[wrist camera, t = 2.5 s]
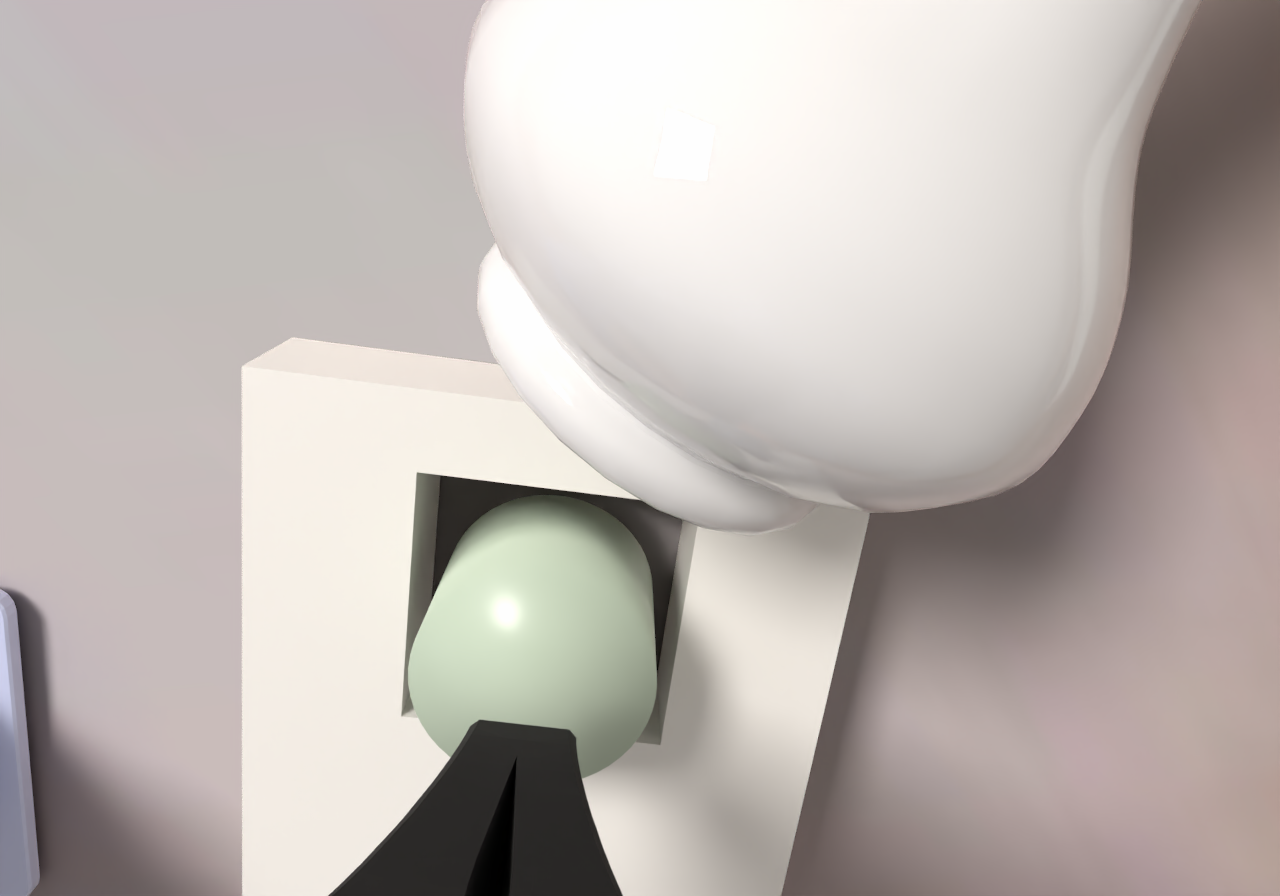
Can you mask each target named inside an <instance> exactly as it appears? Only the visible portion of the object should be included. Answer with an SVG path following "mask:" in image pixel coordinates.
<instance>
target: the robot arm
mask: <svg viewBox="0 0 1280 896" xmlns="http://www.w3.org/2000/svg"><path fill="white" fill-rule="evenodd" d="M39 880H40V871H39V860H38V848H37V837H36V825H35V814H34V803H33V791H32V780H31V768H30V757H29V745H28V734H27V723H26V711H25V700H24V688H23V677H22V665H21V654H20V643H19V631H18V620H17V610H16V606H15V603H14V601H13V600H12V598H11V597H10V596H9V595H8V594H7V593H6V592H4V591H3V590H1V589H0V896H29V895H30V893H31V892H32V891H33V890H34V888H35V887H36V886H37V885H38V884H39ZM328 896H623V895H622V892H621V890H620V888H619V885H618V883H617V881H616V878H615V876H614V874H613V871H612V869H611V867H610V864H609V862H608V859H607V856H606V854H605V851H604V849H603V846H602V843H601V840H600V837H599V834H598V831H597V828H596V825H595V823H594V820H593V817H592V814H591V810H590V807H589V804H588V800H587V797H586V793H585V789H584V785H583V781H582V777H581V772H580V767H579V762H578V755H577V745H576V737H575V736H574V734H573V733H572V732H571V731H570V730H569V729H560V728H551V727H542V726H533V725H524V724H515V723H506V722H498V721H489V720H480V719H479V720H478V721H477V722H475V723H474V724H472V725H471V726H470V727H469V729H468V731H467V733H466V735H465V736H464V738H463V740H462V741H461V743H460V744H459V746H458V747H457V749H456V750H455V752H454V753H453V755H452V756H451V758H450V759H449V761H448V762H447V763H446V765H445V766H444V767H443V769H442V770H441V771H440V773H439V774H438V775H437V777H436V778H435V780H434V781H433V782H432V783H431V785H430V786H429V787H428V788H427V790H426V791H425V792H424V793H423V794H422V796H421V797H420V798H419V799H418V801H417V802H416V803H415V804H414V806H413V807H412V808H411V809H410V810H409V812H408V813H407V814H406V815H405V817H404V818H403V819H402V820H401V821H400V822H399V823H398V825H397V826H396V827H395V828H394V829H393V830H392V831H391V832H390V833H389V834H388V835H387V836H386V838H385V839H384V840H383V841H382V842H381V843H380V844H379V845H378V846H377V847H376V848H375V849H374V850H373V852H372V853H371V854H370V855H369V856H368V857H367V858H366V859H365V860H364V861H363V862H362V863H361V864H360V865H359V866H358V867H357V868H356V869H355V870H354V871H353V872H352V873H351V874H350V875H349V876H348V877H347V878H346V879H345V880H344V881H343V882H342V883H341V884H340V885H339V886H338V887H337V888H336V889H335V890H334V891H333V892H331V893H330V894H329V895H328Z"/></svg>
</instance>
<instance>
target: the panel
mask: <svg viewBox="0 0 1280 896" xmlns="http://www.w3.org/2000/svg"><path fill="white" fill-rule="evenodd" d="M441 475H443V476H451V477H460V478H468V479H476V480H484V481H492V482H500V483H508V484H516V485H524V486H532V487H540V488H548V489H556V490H564V491H573V492H581V493H589V494H597V495H605V496H613V497H621V498H629V499H637V500H640V499H638V498H637V497H635V496H633V495H632V494H630V493H629V492H627V491H625V490H624V489H622V488H620V487H619V486H617V485H615V484H614V483H612V482H611V481H609V480H607V479H606V478H604V477H603V476H602V475H601V474H600V473H598V472H597V471H596V470H595V469H594V468H592V467H591V466H590V465H589V464H587V463H586V462H585V461H584V460H583V459H581V458H580V457H579V456H578V455H577V454H575V453H574V452H573V451H572V450H571V449H569V448H568V447H567V446H566V445H564V444H563V443H562V442H561V441H560V440H558V438H557V437H556V436H555V435H554V434H553V433H552V432H551V431H550V430H549V429H548V427H547V426H546V425H545V424H544V423H543V422H542V421H541V420H540V419H539V417H538V416H537V415H536V414H535V413H534V412H533V411H532V410H531V409H530V408H529V406H528V405H527V404H526V403H525V402H524V401H523V400H522V399H521V398H520V396H519V395H518V393H517V392H516V390H515V389H514V387H513V386H512V384H511V382H510V381H509V379H508V378H507V376H506V375H505V373H504V371H503V370H502V368H501V367H500V365H499V364H492V363H485V362H477V361H469V360H462V359H454V358H446V357H439V356H431V355H423V354H416V353H408V352H401V351H393V350H385V349H378V348H370V347H362V346H355V345H347V344H339V343H332V342H324V341H316V340H309V339H301V338H293V337H292V338H291V339H289V340H287V341H285V342H284V343H282V344H280V345H278V346H276V347H275V348H273V349H271V350H269V351H268V352H266V353H264V354H262V355H261V356H259V357H257V358H255V359H254V360H252V361H250V362H248V363H246V364H245V365H243V366H242V896H328V895H329V894H330V893H331V892H333V891H334V890H335V889H336V888H337V887H338V886H339V885H340V884H341V883H342V882H343V881H344V880H345V879H346V878H347V877H348V876H349V875H350V874H351V873H352V872H353V871H354V870H355V869H356V868H357V867H358V866H359V865H360V864H361V863H362V862H363V861H364V860H365V859H366V858H367V857H368V856H369V855H370V854H371V853H372V852H373V850H374V849H375V848H376V847H377V846H378V845H379V844H380V843H381V842H382V841H383V840H384V839H385V838H386V836H387V835H388V834H389V833H390V832H391V831H392V830H393V829H394V828H395V827H396V826H397V825H398V823H399V822H400V821H401V820H402V819H403V818H404V817H405V815H406V814H407V813H408V812H409V810H410V809H411V808H412V807H413V806H414V804H415V803H416V802H417V801H418V799H419V798H420V797H421V796H422V794H423V793H424V792H425V791H426V790H427V788H428V787H429V786H430V785H431V783H432V782H433V781H434V780H435V778H436V777H437V775H438V774H439V773H440V771H441V770H442V769H443V767H444V766H445V765H446V763H447V762H448V761H449V759H450V758H451V757H449V756H448V755H447V754H446V753H445V752H444V751H443V750H442V749H440V748H439V747H438V746H437V744H436V743H435V742H434V741H433V740H432V739H431V737H430V736H429V735H428V733H427V732H426V730H425V729H424V727H423V726H422V724H421V723H420V720H419V718H418V716H417V714H416V712H415V710H414V707H413V703H412V700H411V697H410V691H409V685H408V666H409V659H410V653H411V650H412V647H413V643H414V640H415V638H416V636H417V634H418V631H419V629H420V627H421V624H422V622H423V620H424V618H425V615H426V613H427V611H428V608H429V606H430V604H431V600H432V586H433V573H434V559H435V545H436V531H437V517H438V503H439V489H440V476H441ZM869 517H870V513H868V512H861V511H854V510H847V509H840V508H836V507H831V506H827V505H822V504H820V505H819V506H818V507H817V508H816V509H815V510H814V511H812V512H811V513H810V514H809V515H807V516H806V517H805V518H804V519H802V520H801V521H800V522H798V523H797V524H796V525H795V526H793V527H791V528H789V529H787V530H784V531H780V532H774V533H767V534H761V535H755V536H745V535H739V534H733V533H727V532H721V531H716V530H710V529H704V528H701V527H699V526H696V525H694V524H691V523H689V522H686V521H684V520H683V521H682V527H681V534H680V540H679V546H678V552H677V558H676V564H675V570H674V576H673V582H672V589H671V595H670V601H669V607H668V613H667V619H666V625H665V631H664V637H663V644H662V650H661V656H660V662H659V668H658V674H657V691H656V699H655V703H654V707H653V711H652V713H651V716H650V718H649V721H648V723H647V725H646V727H645V728H644V730H643V732H642V734H641V735H640V737H639V738H638V739H637V740H636V742H635V743H634V744H633V745H632V747H631V748H630V749H629V750H628V751H627V752H626V753H624V754H623V755H622V756H621V757H620V758H619V759H617V760H616V761H615V762H613V763H612V764H611V765H609V766H608V767H606V768H604V769H602V770H601V771H599V772H597V773H595V774H593V775H590V776H588V777H585V778H583V779H582V781H583V785H584V789H585V793H586V797H587V800H588V804H589V807H590V810H591V814H592V817H593V820H594V823H595V825H596V828H597V831H598V834H599V837H600V840H601V843H602V846H603V849H604V851H605V854H606V856H607V859H608V862H609V864H610V867H611V869H612V871H613V874H614V876H615V878H616V881H617V883H618V885H619V888H620V890H621V892H622V895H623V896H781V894H782V890H783V886H784V881H785V877H786V873H787V869H788V864H789V860H790V856H791V851H792V847H793V843H794V839H795V834H796V830H797V826H798V821H799V817H800V813H801V808H802V804H803V800H804V796H805V791H806V787H807V783H808V778H809V774H810V770H811V766H812V761H813V757H814V753H815V748H816V744H817V740H818V735H819V731H820V727H821V723H822V718H823V714H824V710H825V705H826V701H827V697H828V693H829V688H830V684H831V680H832V675H833V671H834V667H835V662H836V658H837V654H838V650H839V645H840V641H841V637H842V632H843V628H844V624H845V620H846V615H847V611H848V607H849V602H850V598H851V594H852V590H853V585H854V581H855V577H856V572H857V568H858V564H859V559H860V555H861V551H862V547H863V542H864V538H865V534H866V529H867V525H868V521H869Z"/></svg>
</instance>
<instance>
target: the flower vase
mask: <svg viewBox="0 0 1280 896" xmlns="http://www.w3.org/2000/svg"><path fill="white" fill-rule="evenodd" d="M1202 1H1203V0H486V2H485V3H484V4H483V6H482V7H481V9H480V12H479V14H478V16H477V18H476V21H475V23H474V25H473V27H472V30H471V35H470V39H469V44H468V49H467V53H466V66H465V83H464V114H463V122H464V132H465V142H466V152H467V157H468V162H469V167H470V172H471V177H472V182H473V185H474V188H475V190H476V193H477V196H478V198H479V201H480V204H481V206H482V209H483V212H484V214H485V217H486V219H487V222H488V224H489V227H490V229H491V232H492V234H493V237H494V239H495V243H494V244H493V246H492V247H491V249H490V250H489V252H488V253H487V255H486V256H485V258H484V259H483V261H482V263H481V265H480V268H479V272H478V287H477V312H478V315H479V318H480V321H481V323H482V326H483V329H484V332H485V335H486V338H487V341H488V343H489V346H490V349H491V352H492V354H493V356H494V357H495V359H496V361H497V362H498V364H499V365H500V367H501V368H502V370H503V371H504V373H505V375H506V376H507V378H508V379H509V381H510V382H511V384H512V386H513V387H514V389H515V390H516V392H517V393H518V395H519V396H520V398H521V399H522V400H523V401H524V402H525V403H526V404H527V405H528V406H529V408H530V409H531V410H532V411H533V412H534V413H535V414H536V415H537V416H538V417H539V419H540V420H541V421H542V422H543V423H544V424H545V425H546V426H547V427H548V429H549V430H550V431H551V432H552V433H553V434H554V435H555V436H556V437H557V438H558V440H560V441H561V442H562V443H563V444H564V445H566V446H567V447H568V448H569V449H571V450H572V451H573V452H574V453H575V454H577V455H578V456H579V457H580V458H581V459H583V460H584V461H585V462H586V463H587V464H589V465H590V466H591V467H592V468H594V469H595V470H596V471H597V472H598V473H600V474H601V475H602V476H603V477H604V478H606V479H607V480H609V481H611V482H612V483H614V484H615V485H617V486H619V487H620V488H622V489H624V490H625V491H627V492H629V493H630V494H632V495H633V496H635V497H637V498H638V499H640V500H642V501H643V502H645V503H647V504H648V505H650V506H651V507H653V508H655V509H657V510H659V511H662V512H664V513H667V514H669V515H671V516H674V517H676V518H679V519H681V520H684V521H686V522H689V523H691V524H694V525H696V526H699V527H701V528H704V529H710V530H716V531H721V532H727V533H733V534H739V535H745V536H755V535H761V534H767V533H774V532H780V531H784V530H787V529H789V528H791V527H793V526H795V525H796V524H797V523H798V522H800V521H801V520H802V519H804V518H805V517H806V516H807V515H809V514H810V513H811V512H812V511H814V510H815V509H816V508H817V507H818V506H819V505H820V504H822V505H827V506H831V507H836V508H840V509H847V510H854V511H861V512H868V513H888V512H906V511H914V510H922V509H930V508H936V507H943V506H949V505H955V504H961V503H968V502H972V501H976V500H980V499H984V498H988V497H992V496H996V495H998V494H1000V493H1002V492H1005V491H1007V490H1009V489H1011V488H1013V487H1015V486H1018V485H1020V484H1021V483H1022V482H1024V481H1025V480H1026V479H1028V478H1029V477H1030V476H1032V475H1033V474H1034V473H1036V472H1037V471H1038V470H1039V469H1040V468H1041V467H1042V466H1043V465H1044V464H1045V463H1046V462H1047V461H1048V459H1049V458H1050V457H1051V456H1052V455H1053V454H1054V453H1055V451H1056V450H1057V449H1058V447H1059V446H1060V445H1061V443H1062V442H1063V441H1064V439H1065V438H1066V437H1067V435H1068V434H1069V433H1070V431H1071V430H1072V428H1073V427H1074V425H1075V424H1076V422H1077V421H1078V419H1079V418H1080V416H1081V415H1082V413H1083V412H1084V410H1085V408H1086V407H1087V405H1088V403H1089V402H1090V400H1091V398H1092V397H1093V395H1094V393H1095V391H1096V388H1097V386H1098V384H1099V382H1100V380H1101V378H1102V375H1103V373H1104V371H1105V369H1106V367H1107V364H1108V362H1109V359H1110V356H1111V353H1112V350H1113V347H1114V344H1115V341H1116V338H1117V334H1118V330H1119V327H1120V323H1121V320H1122V316H1123V311H1124V306H1125V301H1126V296H1127V290H1128V285H1129V275H1130V264H1131V254H1132V234H1133V217H1134V204H1135V190H1136V182H1137V175H1138V168H1139V161H1140V155H1141V151H1142V147H1143V143H1144V139H1145V135H1146V131H1147V128H1148V125H1149V122H1150V119H1151V117H1152V114H1153V111H1154V108H1155V106H1156V103H1157V100H1158V98H1159V95H1160V93H1161V91H1162V88H1163V86H1164V83H1165V81H1166V79H1167V76H1168V74H1169V72H1170V69H1171V67H1172V65H1173V62H1174V60H1175V58H1176V56H1177V54H1178V51H1179V49H1180V47H1181V45H1182V43H1183V41H1184V38H1185V36H1186V34H1187V32H1188V30H1189V27H1190V25H1191V23H1192V21H1193V19H1194V17H1195V15H1196V13H1197V11H1198V9H1199V7H1200V5H1201V3H1202Z"/></svg>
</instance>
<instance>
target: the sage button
mask: <svg viewBox="0 0 1280 896" xmlns="http://www.w3.org/2000/svg"><path fill="white" fill-rule="evenodd" d="M408 685H409V691H410V697H411V700H412V703H413V707H414V710H415V712H416V714H417V716H418V718H419V720H420V723H421V724H422V726H423V727H424V729H425V730H426V732H427V733H428V735H429V736H430V737H431V739H432V740H433V741H434V742H435V743H436V744H437V746H438V747H439V748H440V749H442V750H443V751H444V752H445V753H446V754H447V755H448V756H449V757H451V756H452V755H453V753H454V752H455V750H456V749H457V747H458V746H459V744H460V743H461V741H462V740H463V738H464V736H465V735H466V733H467V731H468V729H469V727H470V726H471V725H472V724H474V723H475V722H477V721H478V720H479V719H480V720H489V721H498V722H506V723H515V724H524V725H533V726H542V727H551V728H560V729H569V730H570V731H571V732H572V733H573V734H574V736H575V737H576V745H577V755H578V762H579V767H580V772H581V777H582V779H583V778H585V777H588V776H590V775H593V774H595V773H597V772H599V771H601V770H602V769H604V768H606V767H608V766H609V765H611V764H612V763H613V762H615V761H616V760H617V759H619V758H620V757H621V756H622V755H623V754H624V753H626V752H627V751H628V750H629V749H630V748H631V747H632V745H633V744H634V743H635V742H636V740H637V739H638V738H639V737H640V735H641V734H642V732H643V730H644V728H645V727H646V725H647V723H648V721H649V718H650V716H651V713H652V711H653V707H654V703H655V699H656V691H657V669H656V648H655V627H654V606H653V587H652V576H651V571H650V567H649V564H648V561H647V558H646V556H645V554H644V552H643V550H642V548H641V546H640V544H639V543H638V541H637V540H636V538H635V537H634V536H633V534H632V533H631V532H630V531H629V530H628V529H627V528H626V527H625V526H624V525H623V524H622V523H621V522H620V521H619V520H618V519H616V518H615V517H614V516H613V515H611V514H609V513H608V512H606V511H605V510H603V509H601V508H599V507H597V506H595V505H593V504H591V503H589V502H586V501H582V500H579V499H576V498H572V497H566V496H561V495H533V496H527V497H522V498H518V499H515V500H512V501H508V502H506V503H503V504H501V505H499V506H497V507H495V508H493V509H492V510H490V511H488V512H487V513H485V514H484V515H482V516H481V517H480V518H479V519H478V520H476V521H475V522H474V523H473V524H472V525H471V526H470V527H469V528H468V530H467V531H466V532H465V533H464V534H463V536H462V537H461V539H460V540H459V542H458V543H457V545H456V547H455V550H454V552H453V554H452V556H451V558H450V561H449V563H448V565H447V567H446V570H445V572H444V574H443V577H442V579H441V581H440V583H439V586H438V588H437V590H436V592H435V595H434V597H433V599H432V602H431V604H430V606H429V608H428V611H427V613H426V615H425V618H424V620H423V622H422V624H421V627H420V629H419V631H418V634H417V636H416V638H415V640H414V643H413V647H412V650H411V653H410V659H409V666H408Z"/></svg>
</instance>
